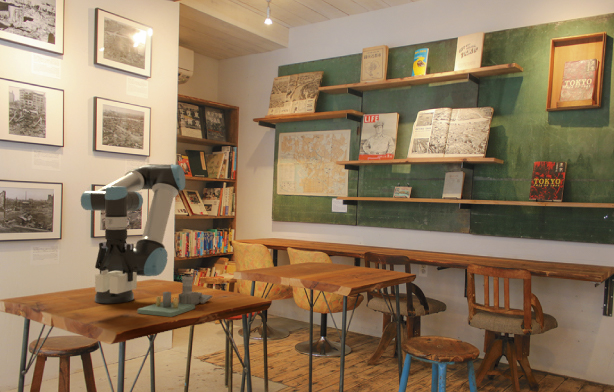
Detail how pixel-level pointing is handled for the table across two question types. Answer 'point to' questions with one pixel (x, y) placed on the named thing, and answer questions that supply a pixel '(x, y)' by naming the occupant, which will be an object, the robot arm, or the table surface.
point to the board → (166, 307)
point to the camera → (191, 293)
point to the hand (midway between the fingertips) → (116, 289)
